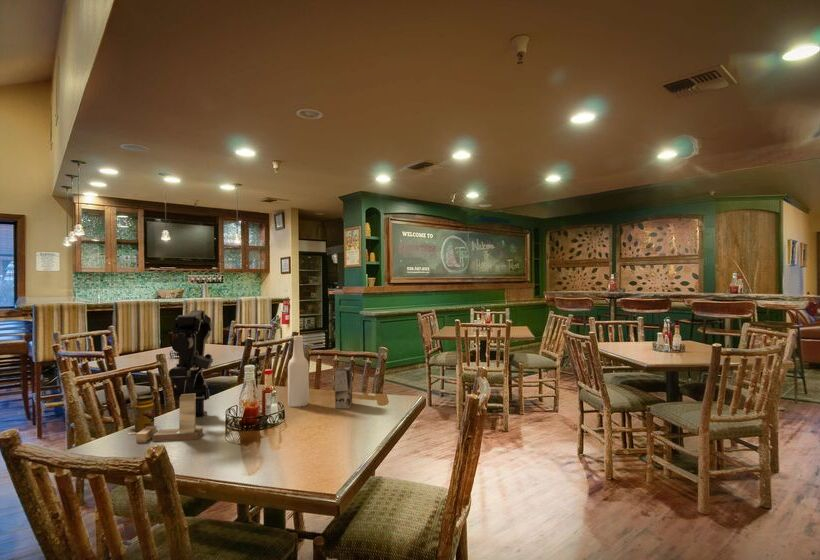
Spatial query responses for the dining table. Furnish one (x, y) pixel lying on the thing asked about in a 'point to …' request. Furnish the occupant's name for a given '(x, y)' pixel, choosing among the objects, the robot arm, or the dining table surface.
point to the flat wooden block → (176, 434)
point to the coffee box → (343, 387)
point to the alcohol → (298, 376)
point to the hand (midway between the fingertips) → (187, 391)
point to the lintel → (145, 434)
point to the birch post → (187, 413)
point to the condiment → (143, 413)
